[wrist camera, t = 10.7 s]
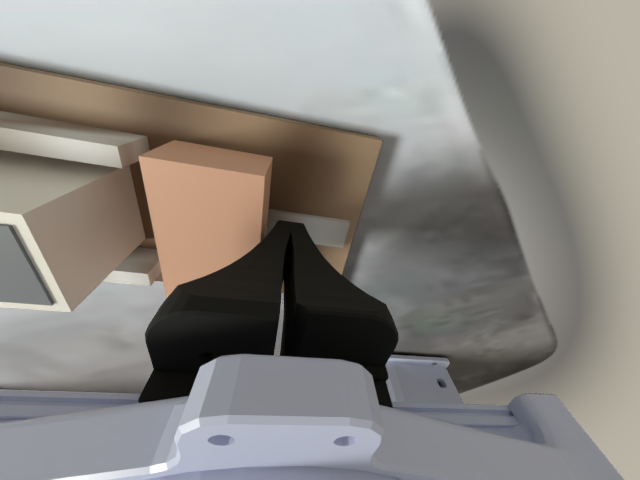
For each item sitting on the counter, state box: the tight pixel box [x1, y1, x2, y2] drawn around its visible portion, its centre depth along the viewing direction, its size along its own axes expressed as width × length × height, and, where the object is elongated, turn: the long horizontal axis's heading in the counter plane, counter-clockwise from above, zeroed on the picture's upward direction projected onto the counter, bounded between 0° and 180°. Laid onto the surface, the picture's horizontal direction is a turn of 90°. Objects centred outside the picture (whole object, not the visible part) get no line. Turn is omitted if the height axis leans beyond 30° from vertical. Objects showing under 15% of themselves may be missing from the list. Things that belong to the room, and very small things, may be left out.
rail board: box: [0, 62, 383, 293], centre depth 12 cm, size 20×10×3 cm, turn 79°
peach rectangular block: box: [138, 140, 273, 297], centre depth 11 cm, size 4×7×3 cm, turn 170°
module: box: [0, 150, 146, 312], centre depth 9 cm, size 6×4×5 cm, turn 80°
